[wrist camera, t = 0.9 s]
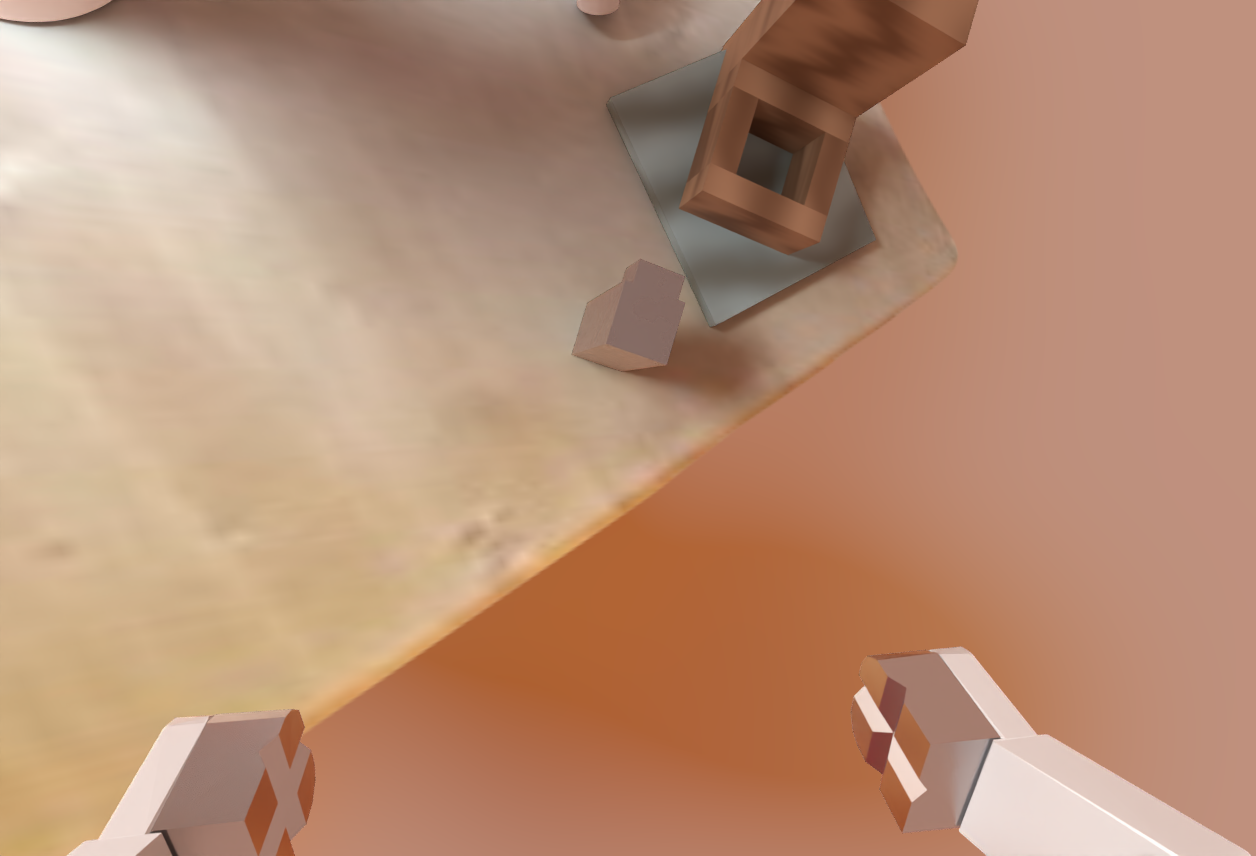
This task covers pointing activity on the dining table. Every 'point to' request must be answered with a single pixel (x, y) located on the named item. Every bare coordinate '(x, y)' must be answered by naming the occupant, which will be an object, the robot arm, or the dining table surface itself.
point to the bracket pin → (633, 320)
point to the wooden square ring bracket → (775, 138)
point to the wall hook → (598, 6)
